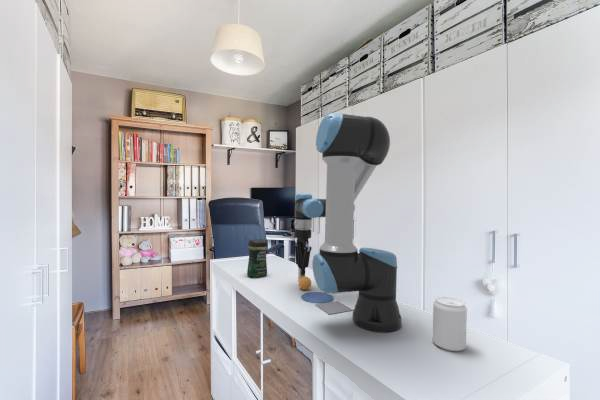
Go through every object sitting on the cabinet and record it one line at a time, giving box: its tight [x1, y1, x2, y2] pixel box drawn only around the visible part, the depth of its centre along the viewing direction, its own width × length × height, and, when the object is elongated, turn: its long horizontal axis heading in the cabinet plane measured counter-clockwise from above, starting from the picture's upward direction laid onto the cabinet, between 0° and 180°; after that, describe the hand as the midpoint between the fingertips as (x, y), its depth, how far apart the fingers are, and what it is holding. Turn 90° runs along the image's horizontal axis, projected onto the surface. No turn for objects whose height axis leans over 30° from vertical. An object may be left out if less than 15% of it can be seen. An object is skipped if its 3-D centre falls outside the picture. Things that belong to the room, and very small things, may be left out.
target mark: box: [300, 291, 335, 304], centre depth 118 cm, size 13×13×1 cm
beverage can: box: [432, 296, 468, 352], centre depth 81 cm, size 8×8×12 cm
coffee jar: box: [246, 238, 269, 279], centre depth 148 cm, size 10×8×19 cm
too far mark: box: [314, 300, 354, 316], centre depth 107 cm, size 10×10×1 cm
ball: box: [298, 276, 312, 291], centre depth 128 cm, size 6×6×6 cm
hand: (301, 282), depth 131 cm, fingers closed
